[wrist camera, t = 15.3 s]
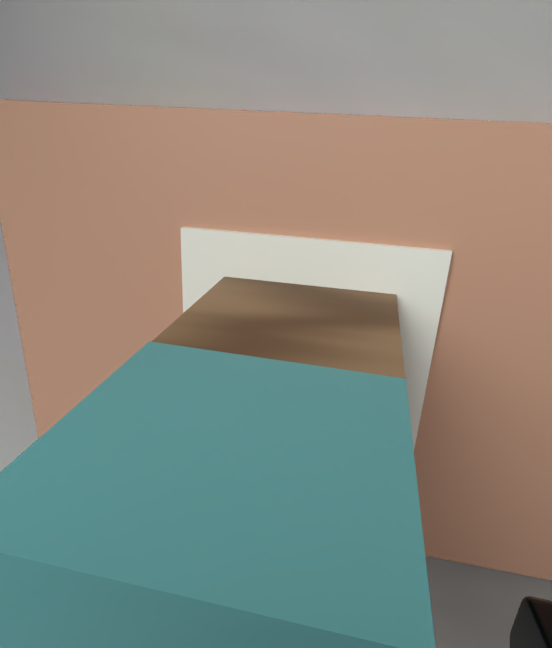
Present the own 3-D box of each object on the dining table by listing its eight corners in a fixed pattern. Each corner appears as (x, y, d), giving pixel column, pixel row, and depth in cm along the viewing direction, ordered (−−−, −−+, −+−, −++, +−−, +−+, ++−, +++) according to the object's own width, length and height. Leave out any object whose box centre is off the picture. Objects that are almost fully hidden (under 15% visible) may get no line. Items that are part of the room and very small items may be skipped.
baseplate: (741, 133, 11) (779, 133, 10) (572, 562, 16) (586, 592, 15) (4, 101, 15) (-27, 98, 13) (61, 465, 20) (42, 484, 19)
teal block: (405, 378, 8) (436, 656, 4) (369, 576, 10) (361, 917, 6) (149, 341, 9) (-71, 535, 5) (158, 531, 11) (7, 799, 7)
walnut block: (395, 294, 13) (405, 377, 8) (374, 442, 15) (371, 576, 10) (224, 276, 14) (148, 344, 9) (223, 419, 16) (160, 532, 11)
